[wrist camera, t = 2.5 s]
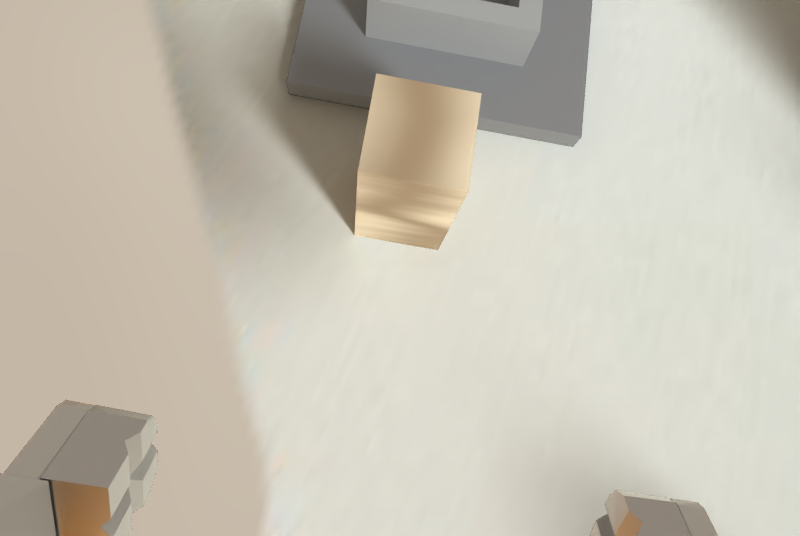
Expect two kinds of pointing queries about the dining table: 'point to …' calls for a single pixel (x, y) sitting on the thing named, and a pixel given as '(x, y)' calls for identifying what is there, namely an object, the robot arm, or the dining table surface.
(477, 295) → the dining table surface
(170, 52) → the dining table surface
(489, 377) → the dining table surface
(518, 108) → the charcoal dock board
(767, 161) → the dining table surface
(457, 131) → the wooden block
